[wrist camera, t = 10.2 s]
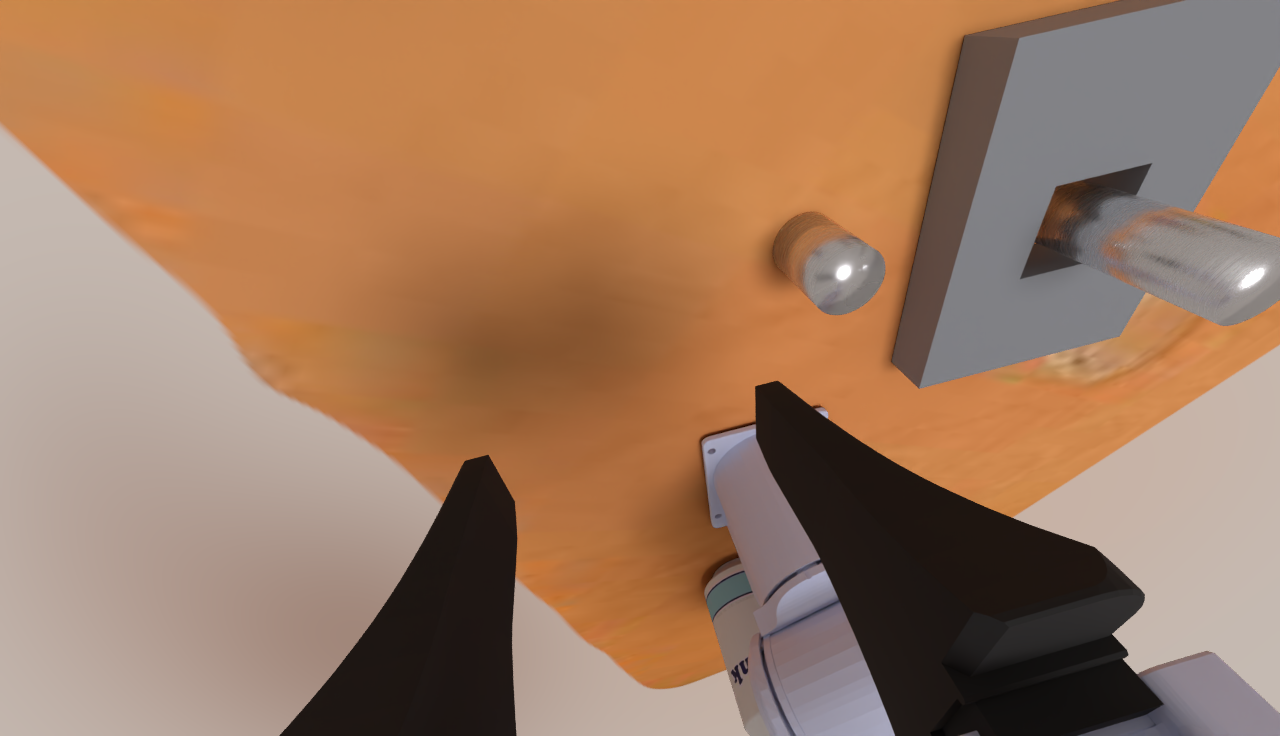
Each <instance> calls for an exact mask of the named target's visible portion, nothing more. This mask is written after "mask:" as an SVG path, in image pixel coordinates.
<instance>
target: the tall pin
mask: <svg viewBox="0 0 1280 736" xmlns="http://www.w3.org/2000/svg"><path fill="white" fill-rule="evenodd" d="M1035 243H1038V244H1040V245H1042V246H1044V247H1046V248H1049V249H1051V250H1053V251H1055V252H1058V253H1060V254H1062V255H1064V256H1067V257H1069V258H1071V259H1073V260H1076V261H1078V262H1080V263H1082V264H1084V265H1087V266H1089V267H1091V268H1093V269H1096V270H1098V271H1100V272H1102V273H1105V274H1107V275H1109V276H1111V277H1114V278H1116V279H1118V280H1120V281H1122V282H1125V283H1127V284H1129V285H1131V286H1134V287H1136V288H1138V289H1140V290H1143V291H1145V292H1147V293H1149V294H1152V295H1154V296H1156V297H1158V298H1160V299H1163V300H1165V301H1167V302H1169V303H1172V304H1174V305H1176V306H1178V307H1181V308H1183V309H1185V310H1187V311H1190V312H1192V313H1194V314H1196V315H1198V316H1201V317H1203V318H1205V319H1207V320H1210V321H1212V322H1214V323H1216V324H1219V325H1222V326H1229V325H1234V324H1238V323H1241V322H1243V321H1246V320H1248V319H1250V318H1252V317H1254V316H1256V315H1258V314H1260V313H1261V312H1263V311H1265V310H1266V309H1268V308H1269V307H1271V306H1272V305H1273V304H1275V303H1276V302H1277V301H1279V300H1280V238H1279V237H1276V236H1272V235H1269V234H1265V233H1262V232H1259V231H1255V230H1252V229H1248V228H1245V227H1242V226H1238V225H1235V224H1232V223H1228V222H1225V221H1221V220H1218V219H1215V218H1211V217H1208V216H1204V215H1201V214H1198V213H1194V212H1191V211H1187V210H1184V209H1181V208H1177V207H1174V206H1171V205H1167V204H1164V203H1160V202H1157V201H1154V200H1150V199H1147V198H1143V197H1140V196H1137V195H1133V194H1130V193H1127V192H1123V191H1120V190H1116V189H1113V188H1110V187H1106V186H1103V185H1099V184H1096V183H1093V182H1089V181H1086V180H1080V181H1076V182H1072V183H1068V184H1064V185H1060V186H1056V188H1055V190H1054V193H1053V196H1052V198H1051V201H1050V203H1049V206H1048V208H1047V211H1046V213H1045V216H1044V219H1043V221H1042V224H1041V226H1040V229H1039V231H1038V234H1037V236H1036V239H1035Z"/></svg>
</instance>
